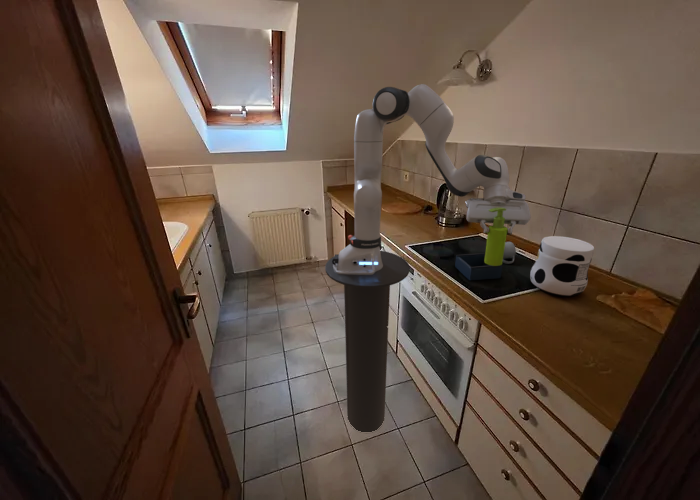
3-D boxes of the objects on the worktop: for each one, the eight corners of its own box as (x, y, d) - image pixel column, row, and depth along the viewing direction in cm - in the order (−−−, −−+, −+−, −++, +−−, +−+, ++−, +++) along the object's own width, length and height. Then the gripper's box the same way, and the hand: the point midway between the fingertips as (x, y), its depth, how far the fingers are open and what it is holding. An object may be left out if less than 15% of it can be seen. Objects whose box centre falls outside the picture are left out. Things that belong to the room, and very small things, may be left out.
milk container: (528, 273, 122) (538, 232, 115) (580, 283, 114) (594, 239, 107) (527, 292, 108) (538, 246, 101) (586, 305, 100) (602, 256, 93)
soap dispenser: (478, 260, 109) (484, 207, 101) (494, 258, 110) (502, 205, 103) (488, 267, 103) (496, 211, 96) (505, 264, 105) (514, 209, 97)
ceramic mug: (488, 255, 140) (491, 240, 136) (504, 254, 140) (507, 239, 137) (501, 265, 130) (504, 249, 127) (518, 264, 131) (522, 248, 128)
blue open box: (469, 280, 117) (471, 267, 115) (454, 266, 129) (456, 254, 127) (500, 278, 119) (502, 265, 117) (482, 264, 131) (484, 252, 129)
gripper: (467, 193, 106) (467, 227, 101) (530, 194, 102) (534, 231, 97) (464, 202, 112) (464, 235, 107) (524, 204, 108) (526, 239, 103)
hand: (497, 233), depth 102 cm, fingers closed on soap dispenser, 6 cm apart
